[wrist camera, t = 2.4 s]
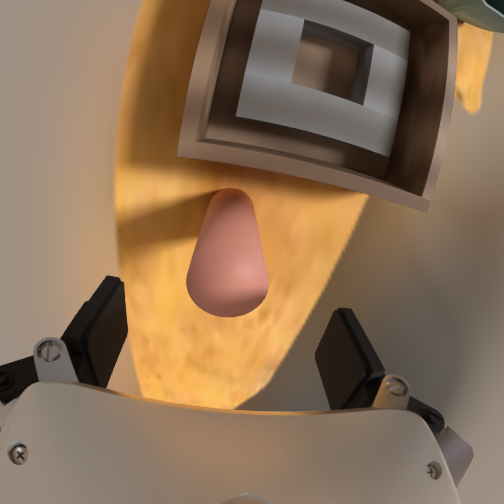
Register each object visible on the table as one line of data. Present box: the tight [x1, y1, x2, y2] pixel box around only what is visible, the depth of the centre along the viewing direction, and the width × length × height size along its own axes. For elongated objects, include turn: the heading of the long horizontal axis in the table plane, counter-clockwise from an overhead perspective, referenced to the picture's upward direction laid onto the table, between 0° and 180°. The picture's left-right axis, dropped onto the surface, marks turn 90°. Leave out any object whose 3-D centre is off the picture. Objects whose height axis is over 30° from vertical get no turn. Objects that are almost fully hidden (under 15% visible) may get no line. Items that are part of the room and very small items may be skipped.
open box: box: [177, 0, 458, 212], centre depth 15 cm, size 18×18×7 cm
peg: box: [186, 188, 269, 317], centre depth 18 cm, size 4×4×12 cm
